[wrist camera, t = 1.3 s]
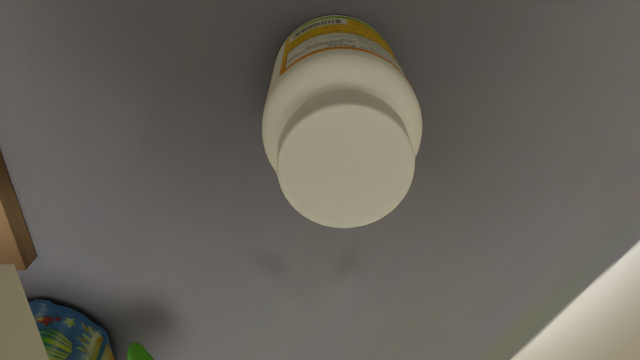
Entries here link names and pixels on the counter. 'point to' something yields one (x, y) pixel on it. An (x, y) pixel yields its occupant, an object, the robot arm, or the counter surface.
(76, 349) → the snack cup
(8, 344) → the robot arm
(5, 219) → the board
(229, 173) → the counter surface
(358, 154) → the supplement bottle
